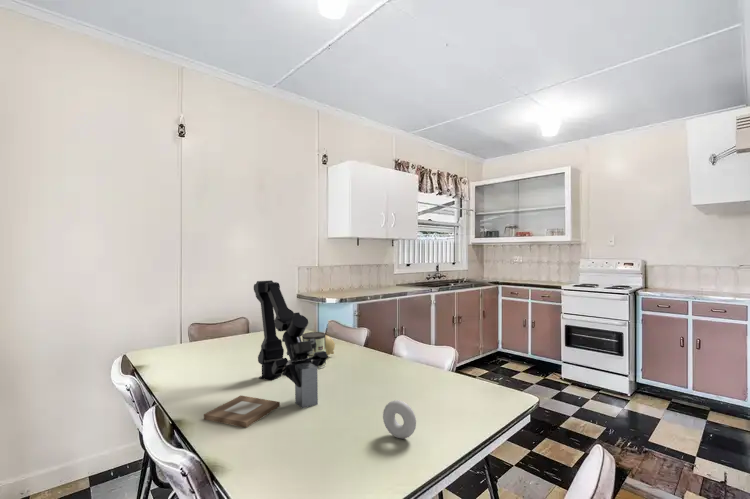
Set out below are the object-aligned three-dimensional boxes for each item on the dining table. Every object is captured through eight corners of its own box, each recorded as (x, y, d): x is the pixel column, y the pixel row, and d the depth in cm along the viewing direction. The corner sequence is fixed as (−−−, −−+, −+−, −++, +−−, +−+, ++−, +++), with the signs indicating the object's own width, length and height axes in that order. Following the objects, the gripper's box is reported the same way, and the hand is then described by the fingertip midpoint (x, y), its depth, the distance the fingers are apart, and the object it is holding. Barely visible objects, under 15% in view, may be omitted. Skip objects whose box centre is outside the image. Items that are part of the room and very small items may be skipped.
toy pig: (323, 352, 190) (323, 331, 191) (338, 356, 182) (338, 334, 182) (307, 356, 184) (307, 334, 184) (322, 361, 175) (322, 338, 175)
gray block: (295, 403, 127) (295, 365, 127) (310, 399, 130) (310, 362, 130) (302, 408, 122) (302, 369, 122) (317, 404, 125) (317, 366, 125)
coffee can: (309, 361, 174) (309, 331, 174) (329, 363, 170) (329, 332, 171) (297, 368, 164) (297, 336, 164) (319, 370, 161) (318, 337, 161)
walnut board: (203, 419, 115) (203, 413, 115) (240, 399, 130) (240, 395, 130) (246, 427, 109) (246, 422, 109) (279, 406, 124) (279, 401, 124)
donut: (380, 435, 104) (380, 398, 104) (387, 430, 107) (387, 394, 107) (412, 445, 98) (412, 407, 98) (418, 440, 101) (418, 402, 101)
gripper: (274, 335, 124) (287, 378, 115) (325, 328, 135) (341, 366, 126) (266, 354, 130) (278, 396, 121) (315, 345, 141) (329, 383, 132)
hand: (308, 385), depth 125 cm, fingers closed on gray block, 5 cm apart
